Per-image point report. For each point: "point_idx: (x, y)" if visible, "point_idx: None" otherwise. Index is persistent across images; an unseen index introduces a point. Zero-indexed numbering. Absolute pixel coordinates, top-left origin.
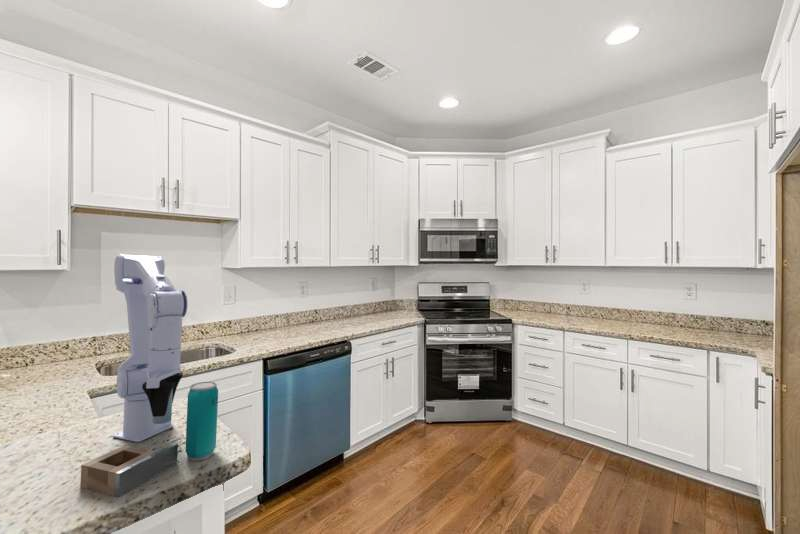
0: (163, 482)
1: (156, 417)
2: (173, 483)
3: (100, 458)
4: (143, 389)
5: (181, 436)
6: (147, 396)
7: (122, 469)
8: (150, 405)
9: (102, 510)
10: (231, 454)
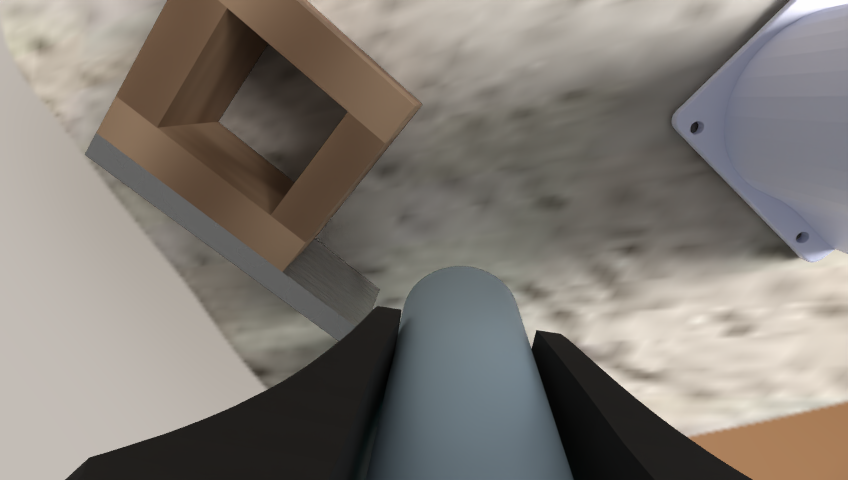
0: (232, 272)
1: (406, 315)
2: (217, 302)
3: (268, 11)
4: (91, 465)
5: (644, 300)
6: (249, 399)
7: (123, 157)
8: (334, 345)
9: (83, 109)
10: None
